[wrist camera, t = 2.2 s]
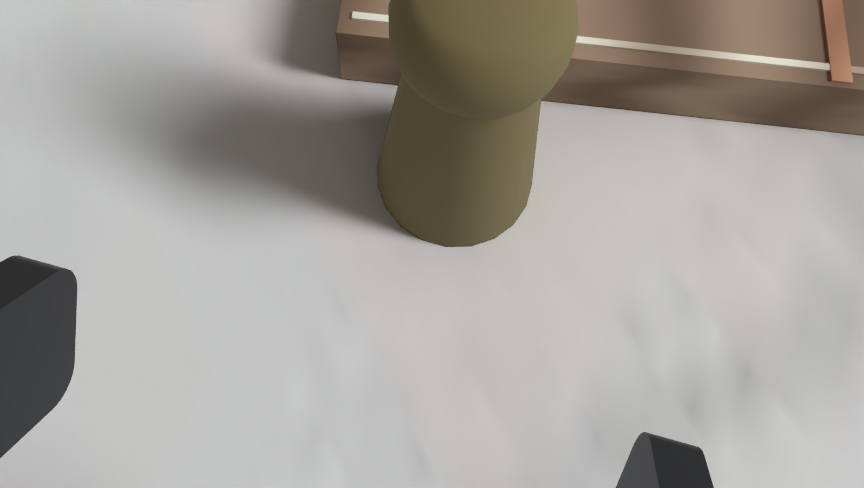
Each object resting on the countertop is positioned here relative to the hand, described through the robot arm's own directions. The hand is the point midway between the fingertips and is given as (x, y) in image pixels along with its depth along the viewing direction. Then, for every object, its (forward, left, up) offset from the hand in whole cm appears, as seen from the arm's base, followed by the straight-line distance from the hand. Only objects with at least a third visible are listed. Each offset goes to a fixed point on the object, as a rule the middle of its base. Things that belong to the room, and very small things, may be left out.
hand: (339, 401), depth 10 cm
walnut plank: (-1, +20, -16) cm, 26 cm away
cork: (-4, +11, -16) cm, 20 cm away
